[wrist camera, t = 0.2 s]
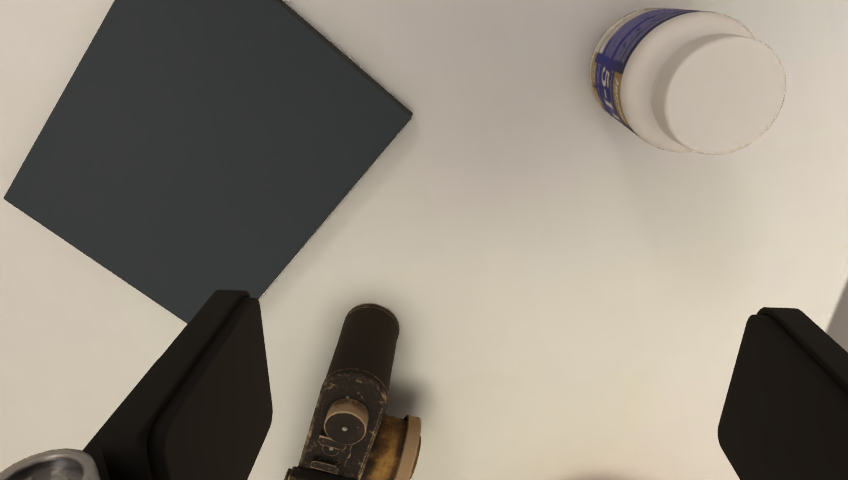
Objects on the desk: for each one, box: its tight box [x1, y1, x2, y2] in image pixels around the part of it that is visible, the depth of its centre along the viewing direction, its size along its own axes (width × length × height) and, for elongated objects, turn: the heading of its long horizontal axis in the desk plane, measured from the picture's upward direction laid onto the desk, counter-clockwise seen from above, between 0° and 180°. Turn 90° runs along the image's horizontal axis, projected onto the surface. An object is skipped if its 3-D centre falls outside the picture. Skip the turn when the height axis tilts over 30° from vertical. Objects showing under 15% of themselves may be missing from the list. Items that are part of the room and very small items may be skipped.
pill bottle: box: [590, 8, 786, 155], centre depth 23 cm, size 5×5×9 cm
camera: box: [284, 304, 421, 480], centre depth 33 cm, size 16×7×8 cm, turn 163°
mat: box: [4, 0, 412, 324], centre depth 29 cm, size 18×14×1 cm
